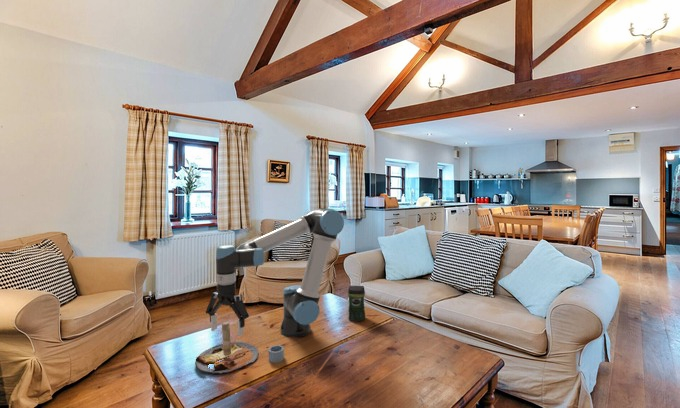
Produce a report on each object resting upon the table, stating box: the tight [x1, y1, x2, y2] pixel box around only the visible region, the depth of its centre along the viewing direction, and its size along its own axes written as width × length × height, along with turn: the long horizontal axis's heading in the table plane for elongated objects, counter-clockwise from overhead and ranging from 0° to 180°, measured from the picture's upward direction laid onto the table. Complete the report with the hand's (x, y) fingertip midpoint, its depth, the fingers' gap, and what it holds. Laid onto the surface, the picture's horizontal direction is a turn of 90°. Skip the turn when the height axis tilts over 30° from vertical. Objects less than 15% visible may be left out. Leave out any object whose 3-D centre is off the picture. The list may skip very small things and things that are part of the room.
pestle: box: [221, 321, 232, 356], centre depth 133 cm, size 3×3×13 cm
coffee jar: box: [347, 285, 366, 322], centre depth 174 cm, size 10×8×19 cm
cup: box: [268, 344, 285, 364], centre depth 132 cm, size 6×6×5 cm
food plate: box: [194, 341, 259, 375], centre depth 133 cm, size 25×23×4 cm
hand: (227, 332), depth 133 cm, fingers open, 13 cm apart
